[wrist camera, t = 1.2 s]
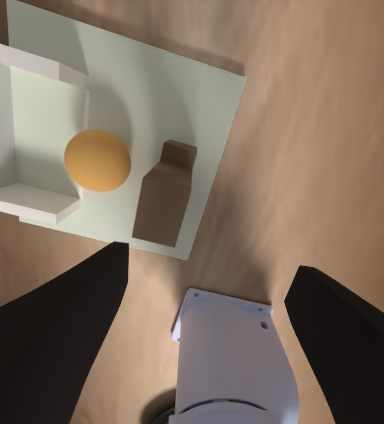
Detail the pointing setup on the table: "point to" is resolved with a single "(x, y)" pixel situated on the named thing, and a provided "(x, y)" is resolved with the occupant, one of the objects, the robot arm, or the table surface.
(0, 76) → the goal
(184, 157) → the notched wooden post
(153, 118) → the board
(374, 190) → the table surface
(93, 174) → the ball
